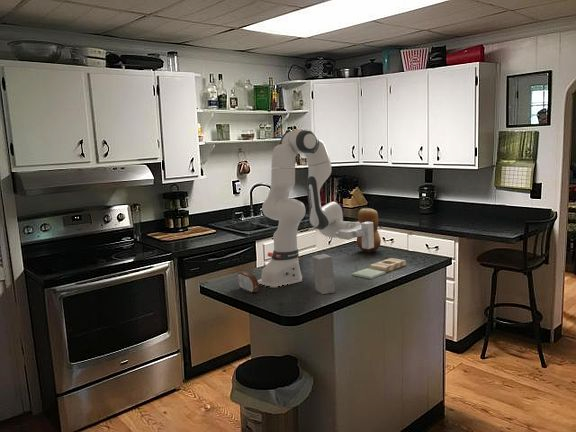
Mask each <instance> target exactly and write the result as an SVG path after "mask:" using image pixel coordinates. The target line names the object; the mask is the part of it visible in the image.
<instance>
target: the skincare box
mask: <svg viewBox="0 0 576 432" xmlns="http://www.w3.org/2000/svg"><path fill="white" fill-rule="evenodd" d="M311 258H312V268H313V277H314V286H315V291H317V292H318V293H319V294H320V295H326V294H332V293H336V286H335V285H336V284H335V275H334V274H335V273H334V269H333V268H334V267H333V258H332V256H331V255H328V254H326V253H323V254H315V255H312V256H311Z"/></svg>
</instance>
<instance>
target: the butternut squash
mask: <svg viewBox="0 0 576 432" xmlns="http://www.w3.org/2000/svg"><path fill="white" fill-rule="evenodd" d="M357 215H358V216H357V219H358V221H357V222H360V223H364V222H373V231H374V248H371V249H365V248H362V236H359V237H356V245H357V247H358V248H359V249H360V250H361V251H363V252H365V253H368V254H371V253H373V252H376V251H377V250H378V249H379V248H380V246H381V241H382V240H381V236H380V233H379V231H378V229H379V214H378V211H377V210H375V209H373V208H369V207H367V208H360V210H359V211H358V213H357Z"/></svg>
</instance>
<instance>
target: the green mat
mask: <svg viewBox="0 0 576 432" xmlns="http://www.w3.org/2000/svg"><path fill="white" fill-rule="evenodd" d="M351 273H352V274H351V275H352V276H355V277H360V278H364V279H369V280H373V279H375V278H377V277H378V278H379V277H380V276H382V275H385V274H386V273H385V272H384V271H379V270H374V269H370V268H367V267H366V268H365V269H360V270H358V271H355V272H351Z"/></svg>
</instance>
